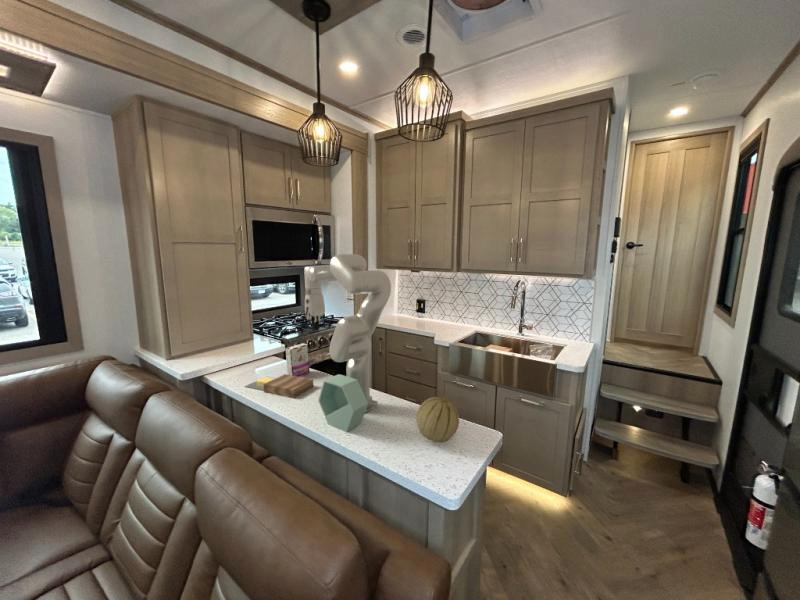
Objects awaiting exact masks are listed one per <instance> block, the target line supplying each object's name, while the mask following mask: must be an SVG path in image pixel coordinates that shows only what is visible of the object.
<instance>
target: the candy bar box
mask: <svg viewBox="0 0 800 600" xmlns="http://www.w3.org/2000/svg"><path fill="white" fill-rule="evenodd" d="M285 358H286V359H285V360H286V372H287V375H292V376H298V377H303V376H305V375H308V374H310V359H309V344H307V343H300V344H295V345H290V346H288V347H285Z"/></svg>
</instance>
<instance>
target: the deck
mask: <svg viewBox="0 0 800 600" xmlns="http://www.w3.org/2000/svg"><path fill="white" fill-rule="evenodd" d="M275 378H276V379H273V380H271V381H269V382H267V383H265V384H263V385H264V391H263V393H267V394H271V395H276V396H280V397H285V398H289V399H290V398H291V399H295V398H296V397H298V396H301V395H302V394H304V393H305V392H307V391H309V390H311V389H313V388H314V379H313V378H308V377H304V376H300V377H298V376H292V375H288V374H286V373H284V374H282V375H280V376H278V377H275Z"/></svg>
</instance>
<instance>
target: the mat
mask: <svg viewBox="0 0 800 600" xmlns="http://www.w3.org/2000/svg"><path fill="white" fill-rule="evenodd" d="M269 377H270V378H272V377H271V376H269ZM274 378H275V379H276V378H277V377H274ZM256 381H257V380H255V381H253V382H251V383H249V384H246V385H244V388H248V389H252V390H253V389H254V390H259V391H263V392H264V387H261V386H257V385H256Z"/></svg>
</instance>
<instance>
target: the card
mask: <svg viewBox="0 0 800 600" xmlns="http://www.w3.org/2000/svg"><path fill="white" fill-rule="evenodd" d="M270 377H271V376H264V377H262V378H260V379H257V380H255V381H256V385H257V386H261V387H264V385H263V384H265V383H267V382H269V381H271V380H273V379H275V378H276V377H271V378H270Z"/></svg>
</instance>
